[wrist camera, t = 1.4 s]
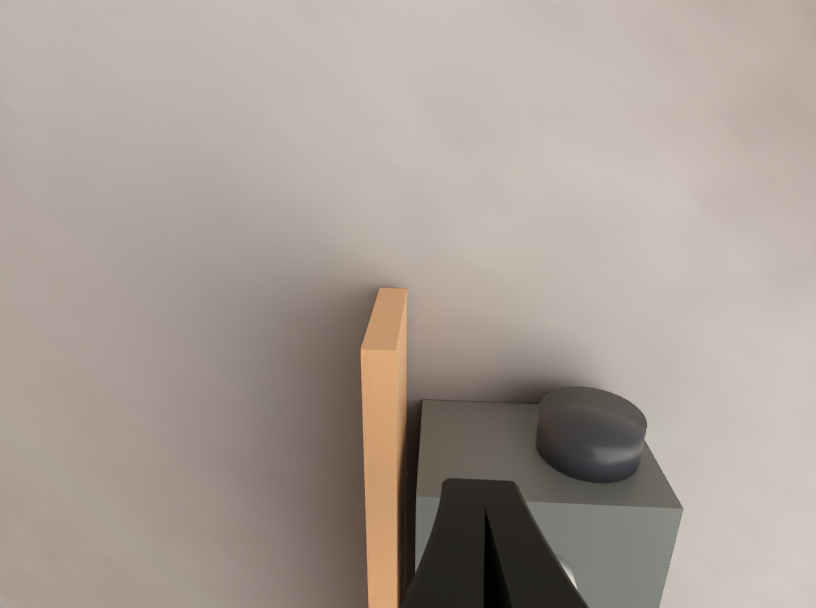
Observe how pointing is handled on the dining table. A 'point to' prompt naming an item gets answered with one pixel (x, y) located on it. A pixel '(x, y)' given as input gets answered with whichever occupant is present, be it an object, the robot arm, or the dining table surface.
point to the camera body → (563, 484)
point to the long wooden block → (385, 446)
